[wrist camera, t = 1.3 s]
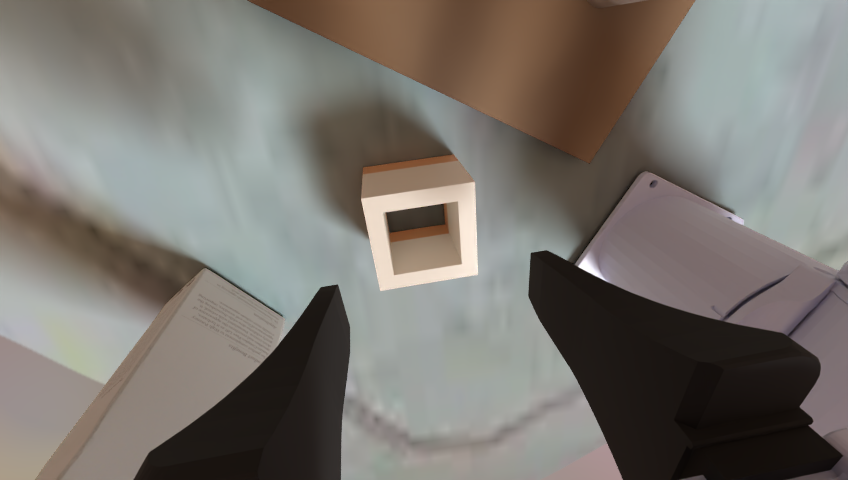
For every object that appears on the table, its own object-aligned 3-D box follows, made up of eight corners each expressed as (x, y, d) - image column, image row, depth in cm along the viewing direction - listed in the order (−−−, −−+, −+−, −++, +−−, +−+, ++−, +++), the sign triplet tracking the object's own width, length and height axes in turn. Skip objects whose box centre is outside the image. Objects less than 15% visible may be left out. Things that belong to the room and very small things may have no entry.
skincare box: (163, 304, 21) (-39, 555, 11) (209, 261, 20) (34, 490, 10) (250, 353, 24) (156, 590, 14) (294, 316, 23) (229, 542, 13)
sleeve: (453, 154, 19) (474, 181, 15) (458, 233, 22) (477, 274, 18) (363, 167, 19) (361, 198, 15) (378, 246, 21) (380, 290, 17)
